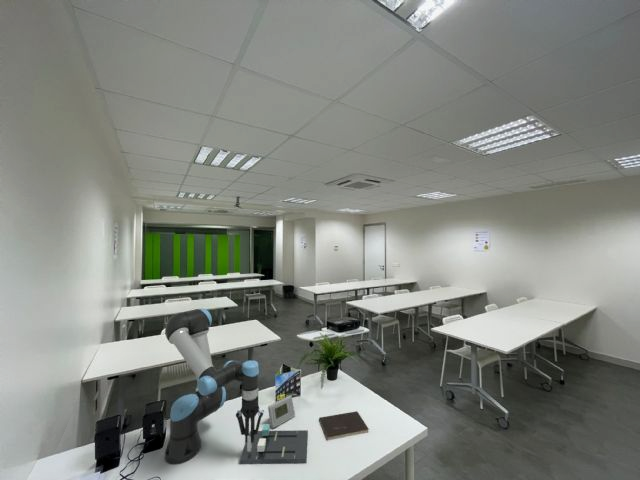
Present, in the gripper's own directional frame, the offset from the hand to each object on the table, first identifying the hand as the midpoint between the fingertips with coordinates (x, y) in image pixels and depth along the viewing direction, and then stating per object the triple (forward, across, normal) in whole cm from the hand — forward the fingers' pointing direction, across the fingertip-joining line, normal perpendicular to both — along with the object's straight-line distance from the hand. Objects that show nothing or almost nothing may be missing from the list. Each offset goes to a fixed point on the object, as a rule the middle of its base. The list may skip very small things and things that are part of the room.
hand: (249, 449), depth 116 cm
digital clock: (+4, +11, +25) cm, 28 cm away
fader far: (+1, +6, +10) cm, 12 cm away
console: (+4, +12, +5) cm, 13 cm away
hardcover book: (+5, +46, +20) cm, 50 cm away
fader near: (+1, +6, 0) cm, 6 cm away
